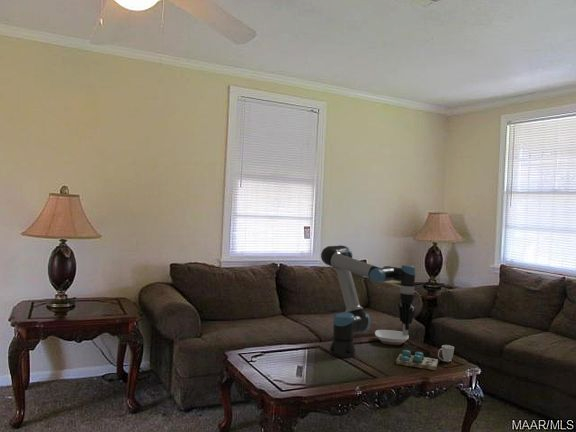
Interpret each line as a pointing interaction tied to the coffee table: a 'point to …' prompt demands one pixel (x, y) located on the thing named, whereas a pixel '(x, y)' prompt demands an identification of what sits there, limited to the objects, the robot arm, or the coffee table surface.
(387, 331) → the bowl
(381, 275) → the robot arm
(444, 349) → the cup
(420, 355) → the button
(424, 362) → the board
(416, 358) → the button
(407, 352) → the button
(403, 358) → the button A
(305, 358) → the coffee table surface
